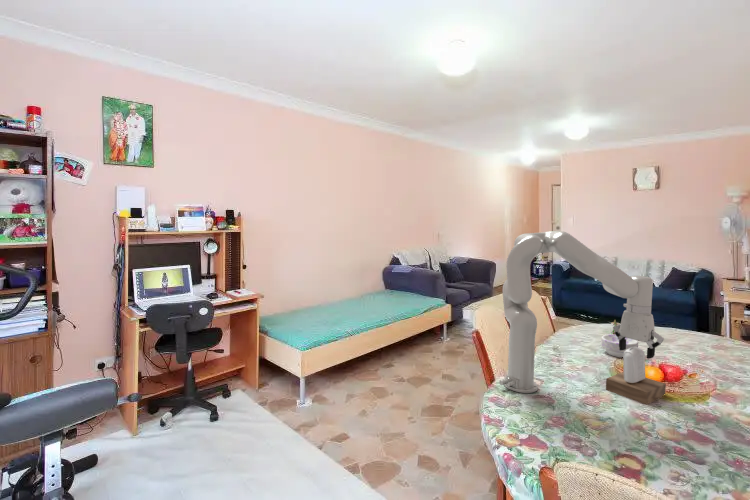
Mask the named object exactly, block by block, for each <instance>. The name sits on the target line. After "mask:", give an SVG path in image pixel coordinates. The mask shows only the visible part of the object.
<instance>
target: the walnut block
mask: <svg viewBox="0 0 750 500" xmlns="http://www.w3.org/2000/svg"><path fill="white" fill-rule="evenodd" d="M605 380H606V381H605V390H606V391H608V392H611V393H613V394H616V395H619V396H621V397H624V398H626V399H629V400H631V401H634V402H637V403H640V404H642V405H646V406H648V405H649V404H651V403H653V402H655V401H657V400H659V399H661V398H663V397H664V396H663V395H664V394H665V395H666V390H667V389H666V387H667V385H666V383H665V382H661V381H658V380H655V379H652V378H648V377H646V376H645V379H643V380H641V381H638V382H636V383H629V382H626V381H625V380H624V371H622V372H619V373H617V374H615V375H612V376H609V377H607V378H605ZM662 396H663V397H662Z"/></svg>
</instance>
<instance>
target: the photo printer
mask: <svg viewBox="0 0 750 500" xmlns="http://www.w3.org/2000/svg"><path fill="white" fill-rule="evenodd" d="M645 357H646V356H645V351H644V350H643V349H642V348H641V347H639V346H638V347H631V348H629V349H627V350H626V351H625V352H624V354H623V358H622V361H623V364H622V365H623V366H622V367H623V372H624V380H625V381H626V382H629V383H636V382H638V381H641V380H643V379H645V377H646V363H645V362H646V358H645Z"/></svg>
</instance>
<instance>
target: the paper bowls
mask: <svg viewBox="0 0 750 500" xmlns="http://www.w3.org/2000/svg"><path fill="white" fill-rule="evenodd" d="M625 339H626V349H625V350H622V351H621V350H619V348H620V347H619V339H618V337H617V336H616V335H615V334H613V333H609V334H604V335H602V336H601V339H600V340H601V341H600V347H601V348H602V349H604V350H605V352H606V354H608V355H610V356H612V357H617V358H622V357H623V354H624V352H625V351H626V350H627V349H629V348H631V347H639V341H637V340H633V339H630V338H625Z"/></svg>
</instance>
